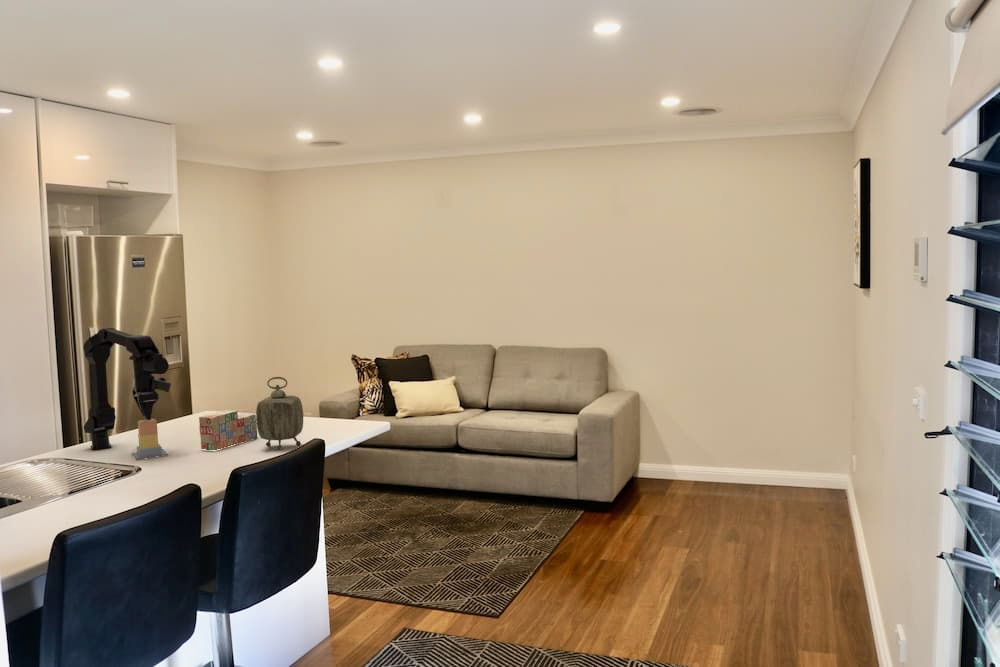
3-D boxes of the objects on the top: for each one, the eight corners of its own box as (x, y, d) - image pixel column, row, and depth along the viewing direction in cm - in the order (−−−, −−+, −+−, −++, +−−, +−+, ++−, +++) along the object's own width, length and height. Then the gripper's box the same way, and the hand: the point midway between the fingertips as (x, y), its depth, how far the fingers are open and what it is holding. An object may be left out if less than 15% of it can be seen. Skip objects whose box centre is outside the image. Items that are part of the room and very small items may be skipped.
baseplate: (132, 454, 291) (131, 446, 290) (162, 450, 296) (162, 441, 295) (136, 460, 282) (135, 451, 282) (167, 455, 287) (166, 447, 287)
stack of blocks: (245, 437, 312) (242, 405, 311) (257, 438, 309) (255, 405, 308) (201, 450, 293) (198, 416, 292) (214, 452, 290) (211, 417, 289)
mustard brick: (139, 446, 290) (138, 433, 289) (156, 444, 292) (155, 431, 292) (141, 449, 285) (140, 436, 284) (158, 446, 288) (157, 434, 287)
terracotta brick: (138, 433, 289) (137, 420, 289) (155, 431, 292) (154, 418, 291) (140, 436, 284) (139, 423, 284) (157, 434, 287) (156, 421, 287)
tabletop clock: (305, 444, 296) (300, 374, 294) (298, 450, 287) (294, 378, 285) (264, 445, 296) (259, 375, 294) (256, 451, 287) (251, 379, 285)
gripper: (172, 373, 282) (176, 419, 284) (163, 367, 298) (167, 411, 300) (137, 376, 276) (140, 423, 278) (129, 371, 293) (133, 415, 294)
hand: (146, 418), depth 288 cm, fingers open, 9 cm apart
